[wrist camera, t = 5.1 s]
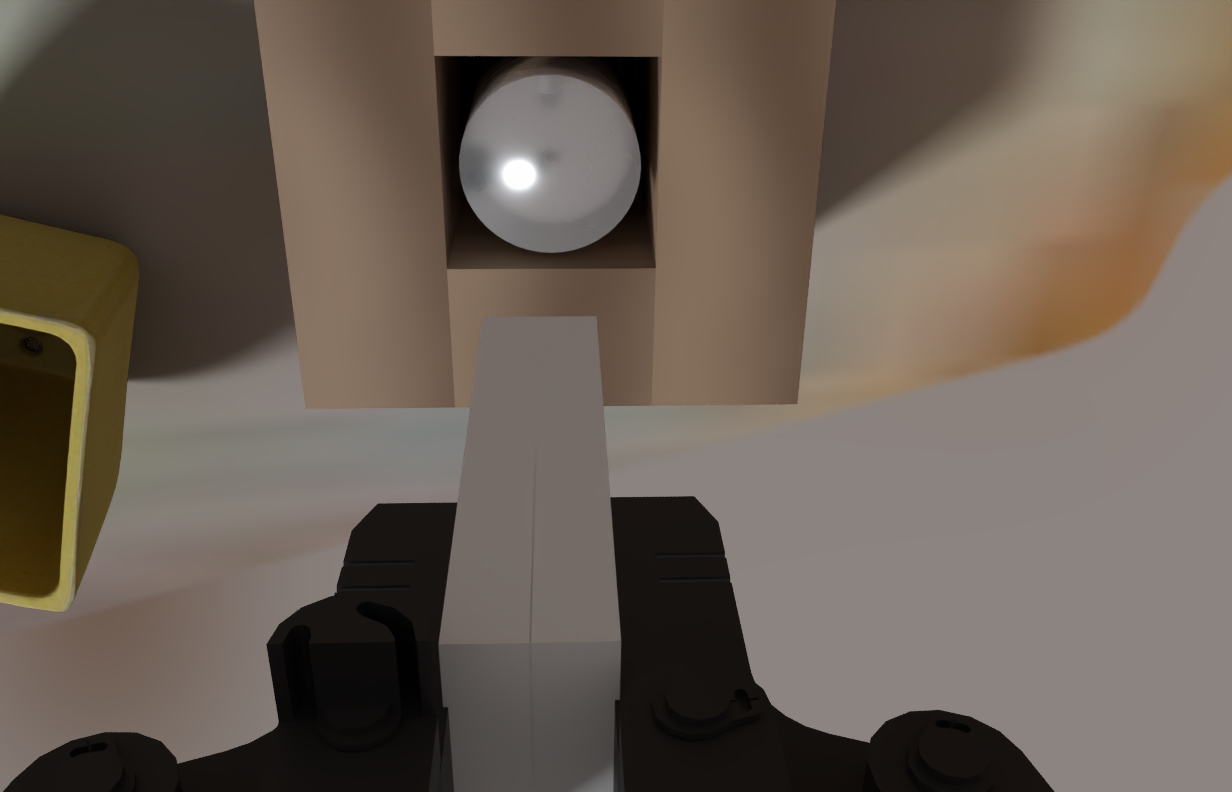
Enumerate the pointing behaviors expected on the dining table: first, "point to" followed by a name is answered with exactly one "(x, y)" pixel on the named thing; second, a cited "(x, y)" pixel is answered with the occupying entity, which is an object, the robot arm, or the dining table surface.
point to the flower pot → (59, 402)
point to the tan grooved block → (539, 281)
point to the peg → (550, 150)
